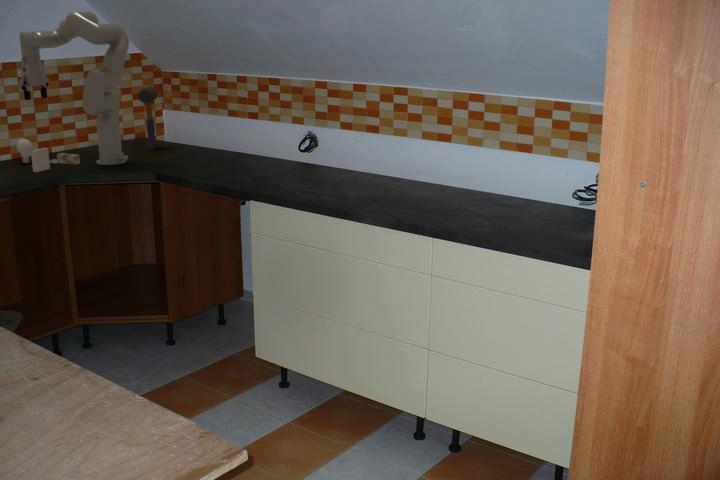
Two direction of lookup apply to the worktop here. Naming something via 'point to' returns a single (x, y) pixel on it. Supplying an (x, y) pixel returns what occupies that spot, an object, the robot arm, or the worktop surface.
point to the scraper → (66, 159)
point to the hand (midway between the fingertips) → (36, 98)
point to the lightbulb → (24, 149)
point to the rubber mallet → (149, 112)
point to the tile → (40, 159)
